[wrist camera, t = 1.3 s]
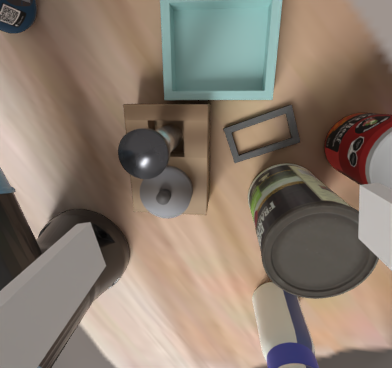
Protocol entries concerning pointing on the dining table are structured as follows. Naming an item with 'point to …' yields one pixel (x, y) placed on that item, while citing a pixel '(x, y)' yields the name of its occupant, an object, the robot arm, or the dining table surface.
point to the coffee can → (307, 234)
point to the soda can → (17, 15)
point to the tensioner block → (174, 160)
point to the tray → (219, 48)
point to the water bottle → (282, 329)
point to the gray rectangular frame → (258, 119)
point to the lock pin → (148, 150)
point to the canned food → (362, 148)
